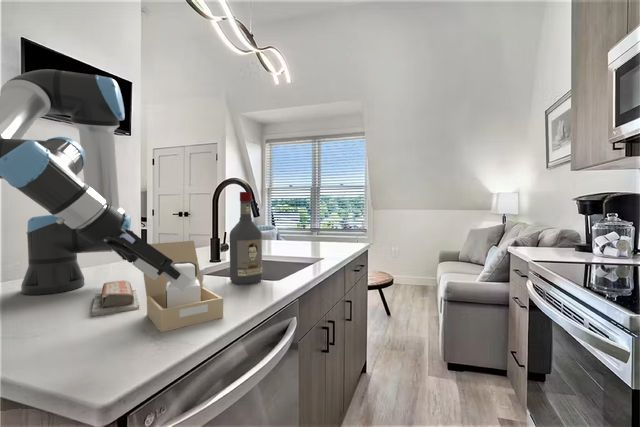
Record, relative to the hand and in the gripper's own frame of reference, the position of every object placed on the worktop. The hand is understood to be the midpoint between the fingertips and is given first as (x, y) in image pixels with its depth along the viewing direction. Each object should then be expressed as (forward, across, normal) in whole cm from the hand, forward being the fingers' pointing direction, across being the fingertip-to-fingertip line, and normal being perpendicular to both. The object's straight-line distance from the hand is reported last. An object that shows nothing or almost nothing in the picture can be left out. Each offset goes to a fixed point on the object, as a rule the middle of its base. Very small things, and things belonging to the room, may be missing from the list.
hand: (171, 280), depth 73 cm
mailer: (+9, -3, -4) cm, 10 cm away
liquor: (+30, -16, +17) cm, 38 cm away
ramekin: (+19, -27, +6) cm, 34 cm away
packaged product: (+4, -24, -9) cm, 26 cm away
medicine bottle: (+8, 0, -4) cm, 9 cm away
